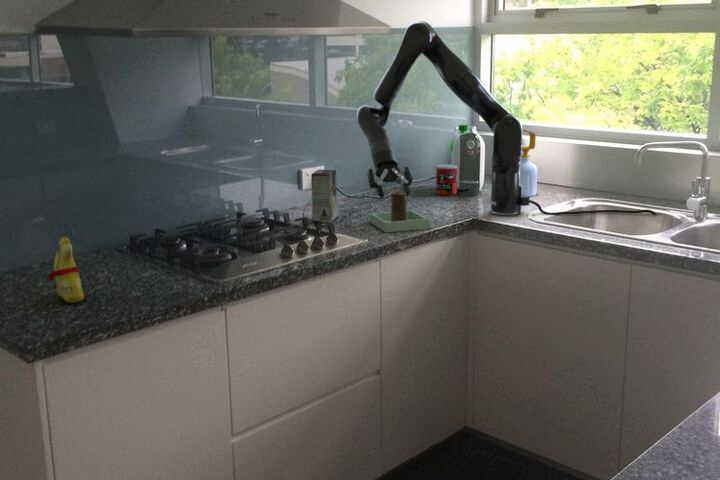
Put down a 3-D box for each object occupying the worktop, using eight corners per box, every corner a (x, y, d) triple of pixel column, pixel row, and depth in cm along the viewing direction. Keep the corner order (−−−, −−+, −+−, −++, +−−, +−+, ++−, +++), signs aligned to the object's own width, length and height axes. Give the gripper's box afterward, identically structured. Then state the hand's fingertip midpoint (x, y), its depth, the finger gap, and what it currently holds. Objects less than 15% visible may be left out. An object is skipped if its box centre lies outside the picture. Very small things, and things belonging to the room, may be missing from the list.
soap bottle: (507, 193, 317) (510, 128, 311) (529, 191, 319) (532, 127, 313) (517, 197, 308) (520, 131, 302) (540, 196, 310) (543, 130, 304)
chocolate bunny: (73, 290, 202) (67, 230, 199) (88, 301, 194) (82, 239, 190) (44, 295, 198) (38, 235, 195) (58, 307, 190) (52, 244, 186)
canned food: (432, 195, 314) (432, 166, 312) (442, 191, 321) (442, 163, 318) (450, 196, 310) (451, 167, 308) (460, 193, 317) (460, 164, 314)
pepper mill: (403, 221, 269) (403, 191, 266) (408, 224, 264) (408, 193, 262) (389, 222, 267) (389, 192, 265) (394, 225, 263) (394, 194, 260)
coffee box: (319, 216, 281) (317, 169, 277) (337, 216, 279) (336, 169, 276) (312, 222, 272) (310, 173, 268) (331, 222, 271) (330, 174, 267)
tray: (412, 219, 275) (412, 210, 274) (428, 228, 261) (428, 219, 260) (370, 222, 270) (370, 213, 270) (385, 232, 257) (385, 222, 256)
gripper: (365, 149, 269) (376, 190, 262) (406, 147, 274) (418, 187, 266) (360, 163, 276) (371, 204, 268) (400, 161, 280) (412, 201, 272)
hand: (395, 196), depth 267 cm, fingers open, 8 cm apart
